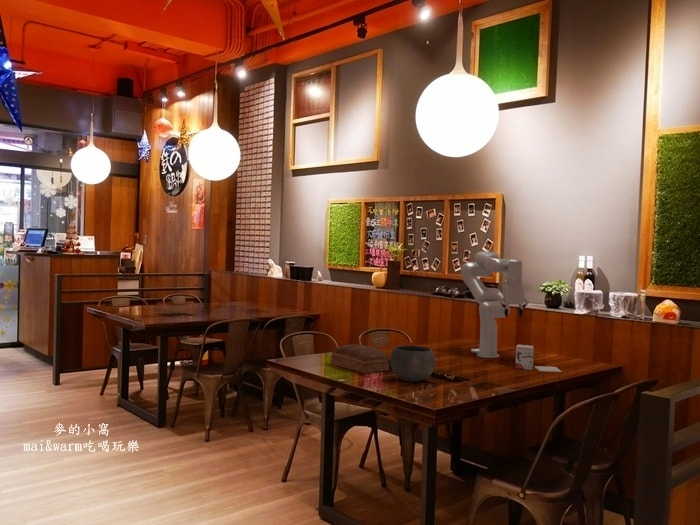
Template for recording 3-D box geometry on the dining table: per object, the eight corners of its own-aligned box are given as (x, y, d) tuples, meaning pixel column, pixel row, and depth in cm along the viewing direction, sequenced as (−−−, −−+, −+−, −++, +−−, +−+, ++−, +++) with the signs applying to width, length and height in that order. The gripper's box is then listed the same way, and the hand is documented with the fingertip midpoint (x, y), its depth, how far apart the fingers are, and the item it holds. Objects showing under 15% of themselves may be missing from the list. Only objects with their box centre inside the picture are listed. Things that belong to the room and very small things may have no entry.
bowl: (403, 387, 264) (404, 352, 263) (382, 377, 283) (382, 345, 282) (443, 384, 272) (444, 350, 272) (419, 374, 291) (420, 343, 290)
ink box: (515, 368, 312) (515, 345, 311) (515, 367, 316) (516, 344, 316) (532, 370, 309) (533, 347, 308) (533, 368, 313) (533, 345, 313)
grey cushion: (364, 374, 289) (365, 350, 289) (328, 364, 313) (329, 342, 312) (391, 371, 300) (391, 348, 299) (354, 361, 323) (355, 340, 323)
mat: (539, 371, 306) (539, 370, 306) (534, 366, 318) (534, 366, 318) (562, 372, 305) (562, 371, 305) (555, 367, 317) (555, 366, 317)
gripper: (499, 282, 319) (498, 316, 320) (532, 283, 318) (531, 317, 319) (496, 282, 327) (495, 315, 327) (529, 282, 326) (528, 316, 326)
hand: (513, 316), depth 323 cm, fingers open, 6 cm apart
